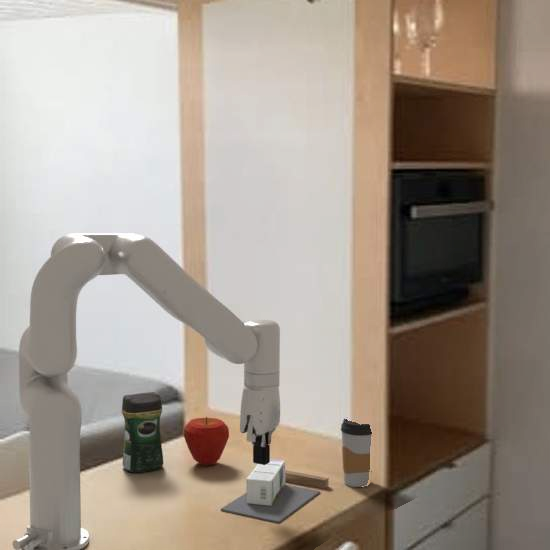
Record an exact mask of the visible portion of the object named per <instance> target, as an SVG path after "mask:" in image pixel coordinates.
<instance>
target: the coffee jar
mask: <svg viewBox="0 0 550 550" xmlns="http://www.w3.org/2000/svg"><path fill="white" fill-rule="evenodd" d="M121 401H122V404H121V413H122V417H123V418H124V439H123V450H122V467H123V468H124V470H125V471H127V472H131V473H134V474H135V473H144V472H145V473H146V472H150V471H155V470H159V469H161V468H163V465H164V454H163V445H162V438H161V430H160V429H161V425H160V423H161V422H160V419H161V415H162V413H163V405H162V404H163V403H162V399H161V395H160V394H158V393H157V392H155V391H150V392H140V393H139V392H138V393H135V394H125V395H124V396H122V400H121Z"/></svg>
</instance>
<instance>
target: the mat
mask: <svg viewBox="0 0 550 550" xmlns="http://www.w3.org/2000/svg"><path fill="white" fill-rule="evenodd" d="M320 493H321V491H320V490H315V489H310V488H306V487H300V486H296V485H290V484H286V483H285V485H284V487H283V488H282V490H281V492H280V493H279V495H278V496H277V498H276V499H275V501H274V503H273V504H272V506H269V505H259V504H249V503H247V492H245V493H244V494H242V495H240V496H239V497H237V498H236V499H234V500H232V501H231V502H229V503H228V504H226V505H224V506H223V507H221V508H220V512H221V511H223V512H225V511H226V512H227V513H231V514H234V513H236V514H235V515H239V516H240V515H241V516H243V515H244V517H247V518H248V517H249V518H253V519H258V520H262V521H267V522H270V523H276V524H280V523H281V522H283V521H284V520H285V519H287V518H288V517H290V515H292V514H294V513H295V512H296V511H297V510H299V509H300V508H301V507H303V506H304V505H305V504H307V503H309V501H311V500H312V499H314V498H315V497H316V496H318V495H319V494H320Z"/></svg>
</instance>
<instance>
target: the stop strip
mask: <svg viewBox="0 0 550 550" xmlns="http://www.w3.org/2000/svg"><path fill="white" fill-rule="evenodd" d="M329 479H330V478H329V477H323V476H318V475H314V474H308V473H302V472H297V471H292V470H286V469H285V482H289V483H294V484H298V485H299V484H300V485H303V484H304V485H303V486H309V487H315V488H319V489H327V488H328V487H329Z"/></svg>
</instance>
